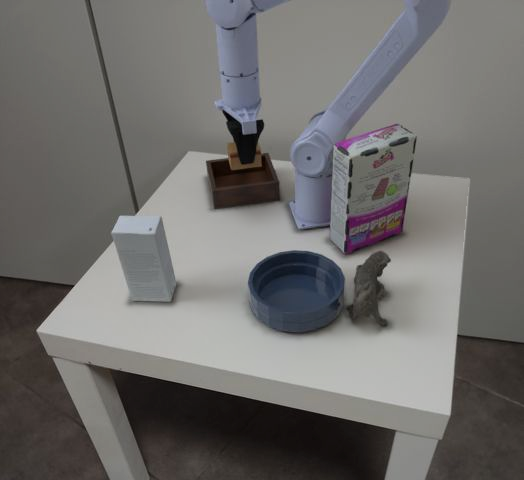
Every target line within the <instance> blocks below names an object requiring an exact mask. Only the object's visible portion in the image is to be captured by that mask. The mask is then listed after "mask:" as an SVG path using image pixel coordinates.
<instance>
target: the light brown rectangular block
mask: <svg viewBox="0 0 524 480" xmlns="http://www.w3.org/2000/svg"><path fill="white" fill-rule="evenodd" d="M226 149H227V156H228V157H227V158H228V160H229V163H230V167H231V170H238V169H245V168H253V167H260V166H262V165H261V154H262V149H261V146H260V144H259V142H258V143H257V148H256V155H255V160H254V163H252V164H244V165H241V162H240V160H239V156H238V152H237V148H236V144H235V142H234V141H232V142H227V143H226Z"/></svg>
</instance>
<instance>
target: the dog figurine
mask: <svg viewBox="0 0 524 480" xmlns="http://www.w3.org/2000/svg"><path fill="white" fill-rule="evenodd" d="M391 262H392V258H391V257H390V256H389V255H388V253H385V252H384V251H382V250H378V251H375V252H373V253H371V254H370V255H369V256H368V257H367V258H366V259H365V260H364V262H363V263H362V264H358V265H356V267H355V275H354V278H353V284H354V287H353V288H354V289H353V291H354V298H353V300H352V304H349V305H348V306H347V307H346V309H347V311H348V312H349V315H351V318H352V320H354V319H356V318H357V317H358V316H359V314H362V315H363V317H365V318H370V317H371V316H372V317H373V319H374V321H375V322H376V323H378V324H379V325H381V326H382V325H383V326H387V325H388V324H389V322H388V320H387V319H386V318H383V317H382V316H381V313H380V309H379V307H380V306H379V300H381V298H384V297H385V296H386V295H387V291H386V288H385V285H384V284H383V283H381V281H379V279H378V278H380V277H382V276H383V273H384V269H385V268H387V266H388V264H389V263H391Z"/></svg>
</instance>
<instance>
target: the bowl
mask: <svg viewBox="0 0 524 480" xmlns="http://www.w3.org/2000/svg"><path fill="white" fill-rule="evenodd" d="M345 283H346V277H345V275H344V272H343V270H342V268H341V267H340V266H339V265H338V264H337V263H336V262H335V261H334V260H333V259H331V258H329V257H327V256H325V255H323V254H321V253H318V252H314V251H310V250H300V249H299V250H296V249H294V250H285V251H280V252H277V253H274V254H271V255H267V256H266V257H265V258H263V259H261V260H260V261H259V262H257V263H256V264H255V265H254V267H253V268H252V269H251V271H250V272H249V277H248V280H247V291H248V301H249V305H250V309H251V311H252V313H253V314H254V316H255V317H256V318H257V319H258V320H259V321H260V322H262V323H263V324H265V325H266V326H268V327H270V328H273V329H274V330H278V331H281V332H289V333H290V332H291V333H303V332H310V331H315V330H317V329H320V328H322V327H324V326H327V325H328V324H330V323H331V322H332V321H334V319H336V318H337V317H338V315H339V314H340V312H341V311H342V309H343V307H344V297H345V285H346V284H345Z"/></svg>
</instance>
